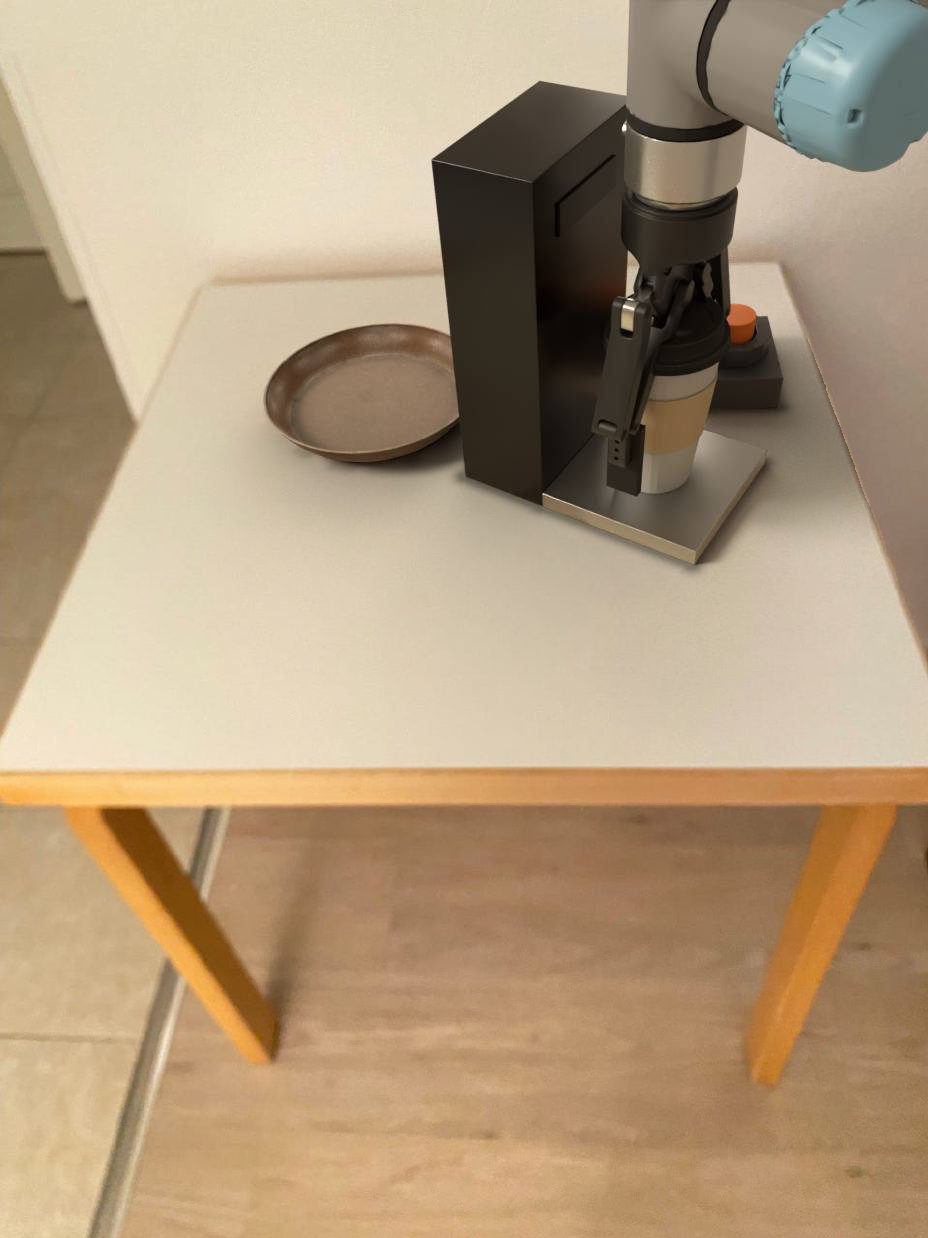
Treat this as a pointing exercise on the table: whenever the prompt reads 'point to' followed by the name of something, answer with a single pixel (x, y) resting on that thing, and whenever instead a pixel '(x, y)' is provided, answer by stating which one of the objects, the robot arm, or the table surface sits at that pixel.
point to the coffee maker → (555, 318)
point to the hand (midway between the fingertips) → (658, 445)
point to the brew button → (741, 323)
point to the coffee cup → (681, 394)
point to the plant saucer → (366, 392)
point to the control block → (749, 372)
